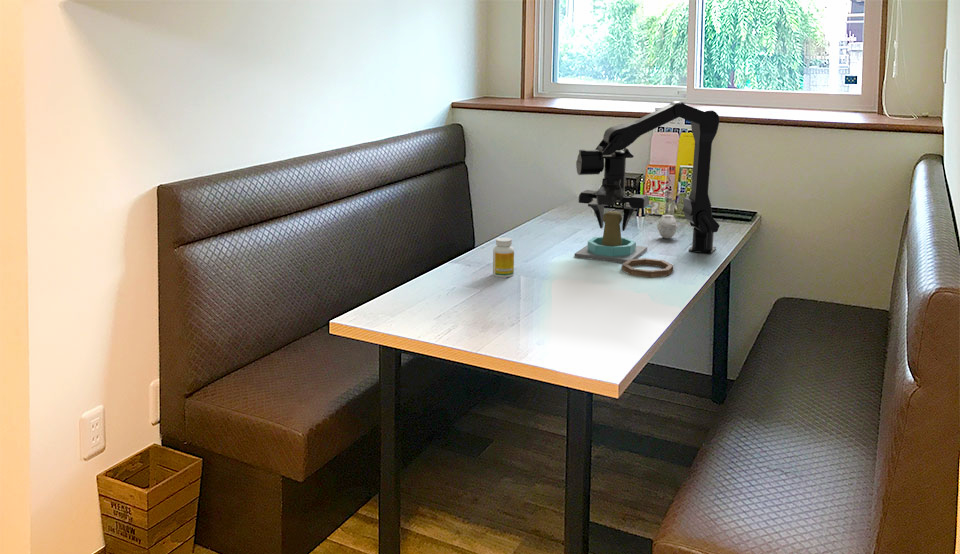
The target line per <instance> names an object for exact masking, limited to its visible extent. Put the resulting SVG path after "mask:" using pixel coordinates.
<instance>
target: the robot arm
mask: <svg viewBox="0 0 960 554" xmlns="http://www.w3.org/2000/svg"><path fill="white" fill-rule="evenodd" d="M678 118H679V119H680V118H681V119H683V120H685V121H689V122H690V125H691V127H690V128H691V133H692V136H693V139H694V150H693V151H694V152H693V161H692V162H693V163H692V175H691V176H692V177H691V178H692V180H691V191H690V194H689V195H688V197H683V200H682V201H683V202H682V203H683V207H682V210H681V211H682V212H683V213H684V214H683V215H684V218H685V219H686V220H687V221H688V222H689V224H690V227H693V228H692V230H693V231H692V243H691V244H692V246H690V247H689V248H688V252H693V253H694V252H696V253H703V254H712V253H714V251H715V250H717V247H715V246H714V237H715V236H714V234H715V233H717V232H718V231H719V228H720V224H719V223H718V221H716V220H715V218H714V217H713V211H712V203H711V199H710V197H709V183H710V182H709V181H710V170H711V158H712V146H713V145H712V144H713V141H714V139H715V137H716V135H717V132H718V129H719V126H720V120H721V119H720V115H719V114H718V113H717V112H716V111H715V110H712V109H708V108H704V107H700V108H696V107H693V106H691V105H688V104H685V103H684V102H682V101H679V100H674V101H671V102H670V103H669V104H667V105H665V106H663V107H661V108H659V109H656V110H655V111H652V112H650V113H648V114H646V115H645V116H642V117H640V118H637V119H636V120H634V121H630V122H627V123H621V124H617V125H614V126H611V127H609V128H607V129H606V130H605V131H604V134H603V138H602V140H601V141H599V144H598V145H597V146H596V147H595V149H579V150H578V155H577V159H576V162H575V163H576V164H575V167H576V168H575V169H576V173H577V175H578V176H588V175H589V176H590V175H591V176H592V175H593V176H595V175H600V174H601V173H602V172H604V173H603V178H602V180H601V186H600V187H599V189H598V190H593V189H592V190H590V189H586V190H583V191H582V192H580V193H579V195H578V203H579V204H586V205H587V207H589V208H591V209H592V210H593V211H594V214H595V217H596V220H597V223H598V225H599V229H604V224H605V222H604V220H603V215H604V213H605V206H606V205H607V206H609V207H611V206H614V205H615V204H616V203H617V204H625V207H623V209H622V210H623V217H622V223H621V224H622V227H621V230H622V232H624V231H626V230H627V225H629V221H630V219H631V217H632V215H633V213H634V212H635V211H636V210H637V209H645V208H647V207H648V206H650V197H649V196H648V195H647V194H636V193H634V194H633V195H631V196H625V195H626V192H627V191H626V190H625V188H626V185H625V184H626V181H627V176H626V163H627V160H626V159H630V158H631V159H633V158H634V157H635V156H634V155H633V153H632V152H630V150H629V149H628V148H627V147H629V146H630V145H632V144H634V143H635V142H636V140H638V139H639V138H640V137H641V136H643V135H646V133H649V132H651V131H653V130H655V129H657V128H660V127H661V126H664V125H666V124H668V123H670V122H672V121H674V120H676V119H678Z"/></svg>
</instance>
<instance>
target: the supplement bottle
mask: <svg viewBox="0 0 960 554" xmlns="http://www.w3.org/2000/svg"><path fill="white" fill-rule="evenodd" d="M512 241H513V240H512V238H510V237H498V238H495V246H494V247H493V250H492V251H493V252H492V275H493V276H494V277H496V278H500V277H502V279H507V278H506V277H508V278H511V277H513V276H514V272H515V267H514V266H515V248H514V247H513V246H511V245H512V244H513V242H512Z"/></svg>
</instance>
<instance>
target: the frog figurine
mask: <svg viewBox="0 0 960 554" xmlns="http://www.w3.org/2000/svg"><path fill="white" fill-rule="evenodd" d="M678 227H679V226H678V224H677V220H676V218H675V216H674V215H670V214H661V217H660V219H659V220H658V223H657V225H656V228H657V229H656V230H658V233H659V235H660V236H661V237H662V238H663V239H666V240H667V239H672V238H673V237H674V236H675V235H676V232H677V230H678Z"/></svg>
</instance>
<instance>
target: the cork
mask: <svg viewBox="0 0 960 554" xmlns="http://www.w3.org/2000/svg"><path fill="white" fill-rule="evenodd" d="M603 220H604V226H603V233H602V234H603V235H602V237H603V239H602V245H605V246H622V240H621V237H622V233H621V224H622V222H623V217H622V213H621V212H620V211H615V210H610V211H606V212H604V215H603Z"/></svg>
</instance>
